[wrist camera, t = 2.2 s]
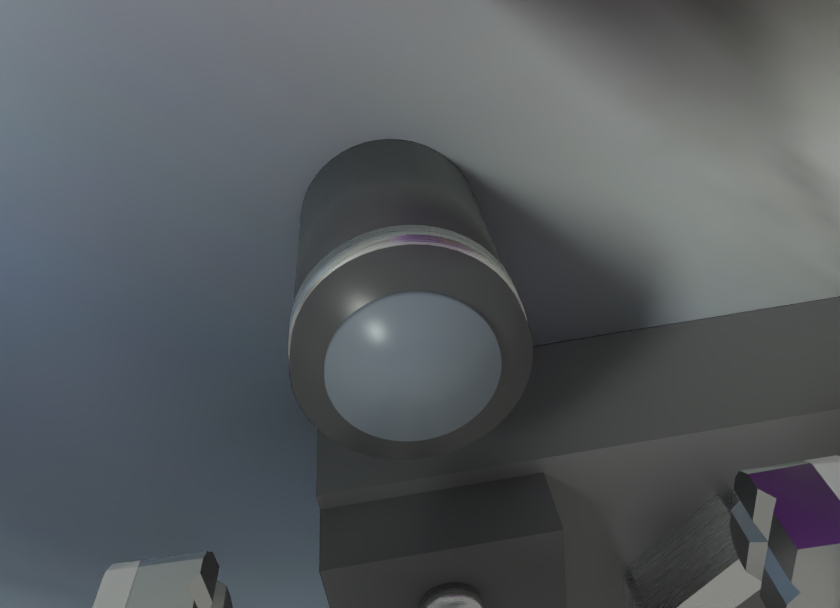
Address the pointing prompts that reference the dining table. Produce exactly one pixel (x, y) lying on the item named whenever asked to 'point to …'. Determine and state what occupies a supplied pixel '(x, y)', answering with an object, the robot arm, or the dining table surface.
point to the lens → (402, 307)
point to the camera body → (593, 474)
